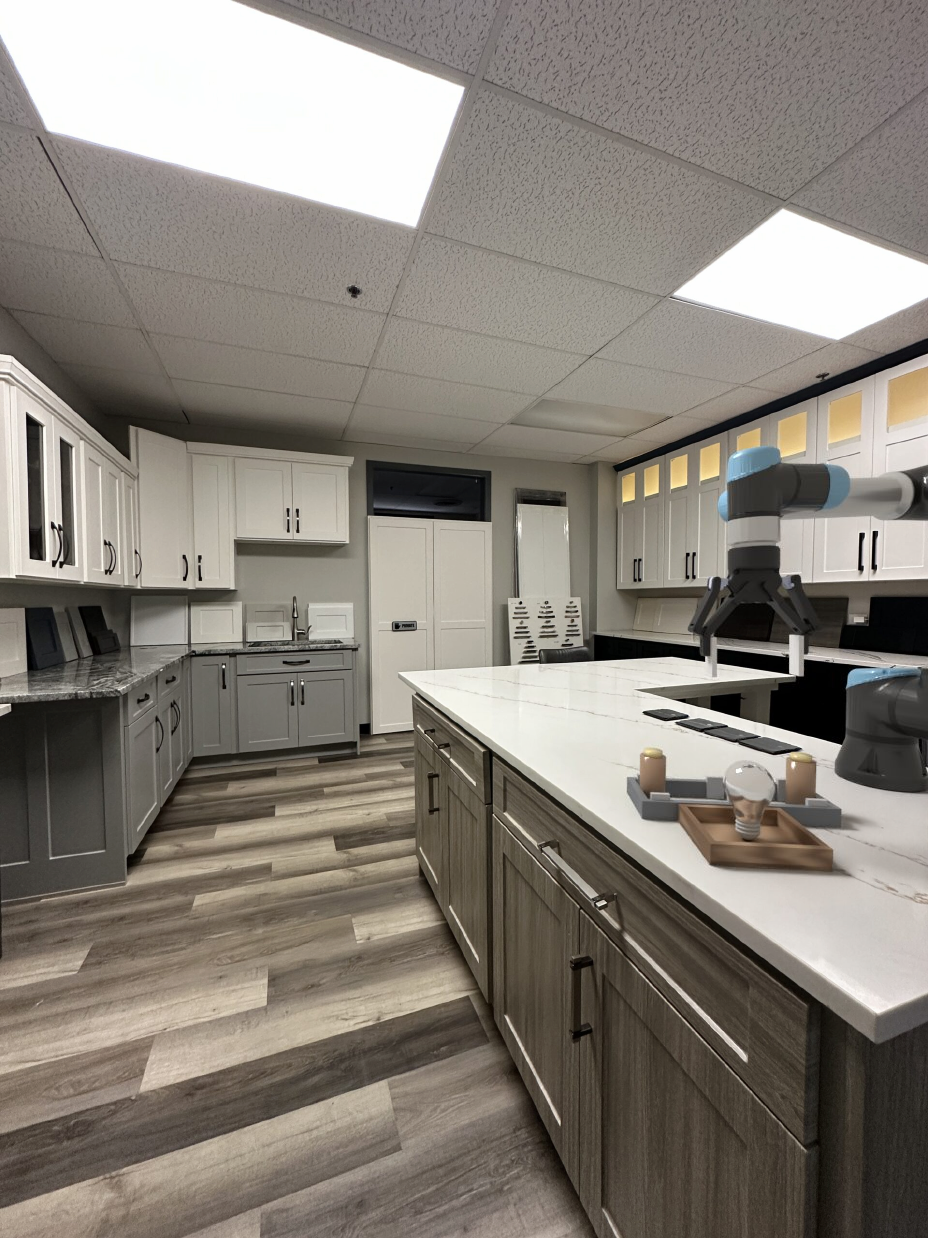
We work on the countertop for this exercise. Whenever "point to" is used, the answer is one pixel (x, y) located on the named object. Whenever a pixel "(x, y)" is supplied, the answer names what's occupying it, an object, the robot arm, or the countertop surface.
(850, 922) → the countertop surface
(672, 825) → the countertop surface
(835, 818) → the holder
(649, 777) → the cylinder
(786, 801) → the cylinder
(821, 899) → the countertop surface
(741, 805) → the light bulb
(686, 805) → the tray
